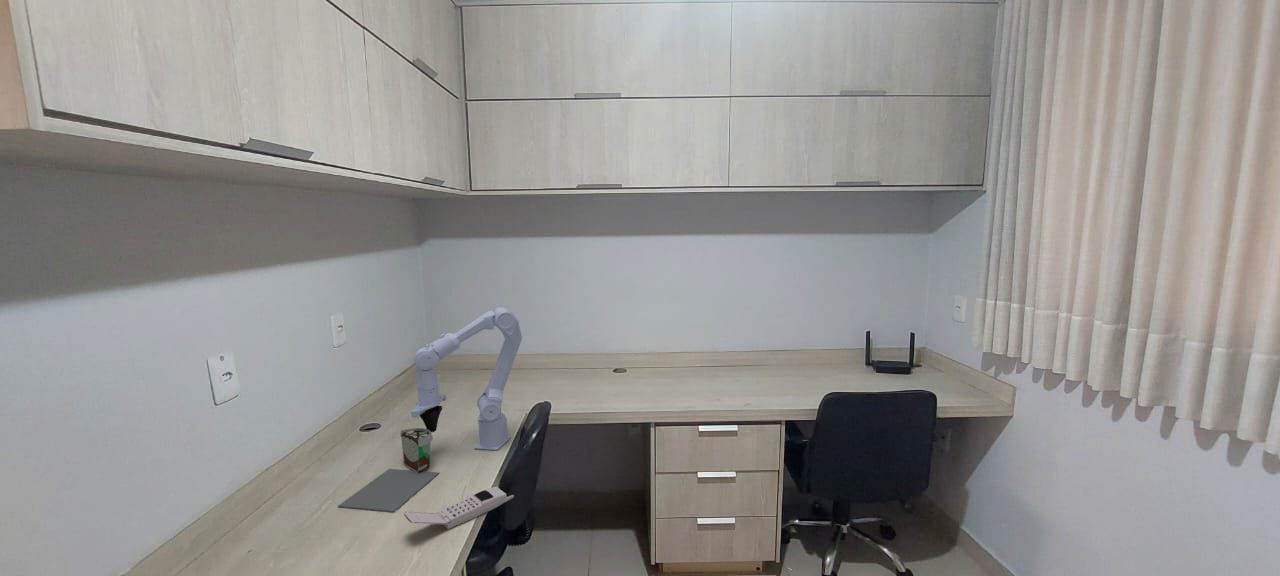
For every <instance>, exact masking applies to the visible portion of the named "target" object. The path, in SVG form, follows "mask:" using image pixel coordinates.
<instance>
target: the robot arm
mask: <svg viewBox="0 0 1280 576" xmlns="http://www.w3.org/2000/svg"><path fill="white" fill-rule="evenodd" d="M495 327H496V328H498V330H499V331H500V332H501V334H502V336H503V338H504V340H503V343H502V345H501V349H500V351H499V354H498V357H497V360H496V363H495V366H494V367H493V371H492V374H491V377H490V378H489V382H488V384H487V386H486V387H485V389H484V391H483V393H482V394H481V395H480V396H479V398H478V399H477V401H476V404H477V405H476V406H477V408H478V410H479V415H478V416H477V423H478V425H477V426H478V435H479V442H478V443H477V444H476V445H475V446H474V449H475V450H489V451H490V450H491V451H498V450H499V449H500V448H501V447H503V446H504V445H505V443H507V441H509V440H510V439H511V435H509V433H508V432H509V431H508V419H507V416H506V415H505V414H504V413H503V412H502V402H503V399H504V398H503V395H504V390H505V387H506V384H507V381H508V378H509V377H510V373H511V370H512V367H513V364H514V362H515V359H516V356H517V355H518V351H519V347H520V345H521V343H522V339H523V335H522V331H521V329H520V325H519V319H518V318H517V317H516V316H515V314H514V313H513V312H512V311H511V310H510V309H509V308H508V307H506V306H503V305H500V306H496V307H495V308H494V309H493V310H489V311H486V312H485V313H484V314H482V315H481V316H479V317H477V318H476V319H475V320H473V321H472V322H470V323H468V324H467V325H466V326H464V327H463V328H462V329H461V328H460V330H458V331H457V332H455V333H450V332H447V333H446V334H445V333H442V334H440V335H439V336H440V337H439V338H438V339H436V340H434V341H432V342H431V343H430V344H429V343H427V344H425V347H421V348H419V349H417V351H416V352H415V355H414V364H415V366H416V368H415V372H416V374H415V377H416V386H417V397H418V401H415V404H416V406H415V407H414V408H413V409H412V410H411V411H410V413H411V418H417V419H418V418H419V417H420V419H421V420H422V421H423V424H424V426H425V429H428V430H430V432H431V433H435V432H436V431H437V427H438V421H439V417H440V415H441V412H442V410H443V406H442V405H440V404H441V403H442V402H445V401H446V400H447V394H446V393H440V391H439V390H440V389H439V379H438V372H437V370H436V365H437V362H438V361H442V360H444V359H445V358H446V357H448V356H450V355H451V354H453V353H454V352H456V351H457V350H459V349H460V346H461V343H463V342H465V341H466V340H468V339H470V338H471V337H473V336H475V335H477V334H478V333H480V332H482V331H483V330H489V331H490V330H493V331H494V330H496V328H495Z"/></svg>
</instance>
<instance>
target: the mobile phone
mask: <svg viewBox="0 0 1280 576" xmlns="http://www.w3.org/2000/svg"><path fill="white" fill-rule="evenodd" d="M514 498H515V495H514V494H511V495H509V496H507V493H506V492H504V491H503V490H501V489H500V488H499V487H498V486H494V487H490V488H486V489H483V490H481V491H478V492H476V493H474V494H472V495H471V496H469V497H467V498H465V499H463V500H461V501H458V502H456V503H454V504H452V505H450V506H448V507H445V508H444V509H442V510H439V511H437V512H423V511H413V510H405V511H404V513H403V516H404V517H405V518H406V520H407V521H409V523H411V524H425V525H426V524H427V525H429V524H430V525H443V526H444V527H445V528H446V529H447V530H450V528H451V529H453V528H455V527H457V526H460V525H461V523H462V524H464V523H467V522H468V520H469V521H471V520H473V519H475V518H477V517H480V516H481V515H484V514H486V513H488V512H490V511H492V510H495V509H496V508H498V507H500V506H501V505H503V504H505V503H506V502H508V501H510V500H513V499H514ZM459 524H460V525H459ZM456 525H457V526H456ZM454 526H455V527H454ZM452 527H453V528H452Z"/></svg>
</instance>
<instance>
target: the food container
mask: <svg viewBox="0 0 1280 576" xmlns="http://www.w3.org/2000/svg"><path fill="white" fill-rule="evenodd" d="M400 438H401V445H402V457H403V459H402V460H403V465H404V466H405V467H407V468H408V469H409V470H410V469H411V470H413V471H415V472H417V473H421V472H423V471H426V470H428V469H429V467H430V464H431V463H430V462H431V459H430V458H431V443H432V441H433V440H434V439H433V434H432V432H430V430H428V429H426V428H424V427H423V428H421V427H420V428H419V427H417V428H416V427H414V428H407V429H403V430H400Z"/></svg>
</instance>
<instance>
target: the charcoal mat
mask: <svg viewBox="0 0 1280 576" xmlns="http://www.w3.org/2000/svg"><path fill="white" fill-rule="evenodd" d="M439 475H440V472H437V471H426V470H425V471H423V472H421V473H417V472H415V471H414V470H412V469H411V470H410V469H399V468H398V469H397V468H388V469H387V470H386V471H384V472H383V473H381V474H380V475H378V476H377V477H376V478H374V479H373V480H371V482H369V483H368V484H366V485H365V486H363V487H362V488H360V489H359V490H358V491H356V492H355V493H353V494H352V495H351V496H349V497H347V498H346V499H345V500H344V501H342V502H341V503H340V504H338V505H337V508H338V509H339V508H341V509H351V510H364V511H373V512H374V511H376V512H382V513H383V512H386V513H393V512H394V513H396V512H397V511H398V510H399V509H400V508H401V507H403V506H404V505H405V504H406V503H407V502H409V501H410V500H411V499H412V498H413V497H415V496H416V495H417V492H418V491H419V492H420V491H421V490H422V489H423V488H425V487H426V486H427V485H428V484H429V483H430V482H431V480H432V479H433V478H434V477H435V478H436V477H438V476H439ZM435 478H434V479H435ZM434 479H433V480H434ZM433 480H432V481H433ZM428 482H429V483H428ZM427 483H428V484H427ZM426 484H427V485H426ZM425 485H426V486H425ZM424 486H425V487H424ZM419 492H418V493H419ZM412 496H413V497H412ZM411 497H412V498H411ZM410 498H411V499H410ZM409 499H410V500H409ZM402 505H403V506H402ZM396 510H397V511H396ZM395 511H396V512H395Z"/></svg>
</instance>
